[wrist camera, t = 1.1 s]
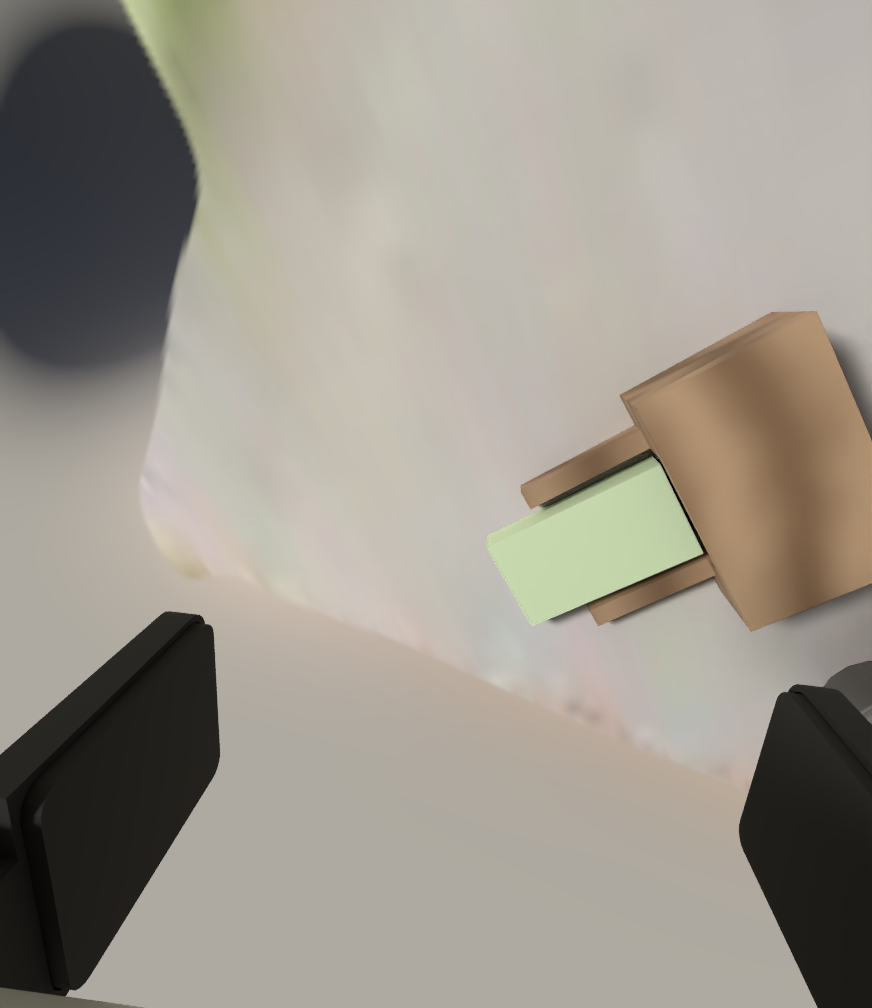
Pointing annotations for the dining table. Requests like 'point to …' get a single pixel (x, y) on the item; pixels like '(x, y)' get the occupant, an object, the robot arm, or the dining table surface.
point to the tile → (594, 542)
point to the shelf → (750, 471)
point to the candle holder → (855, 686)
